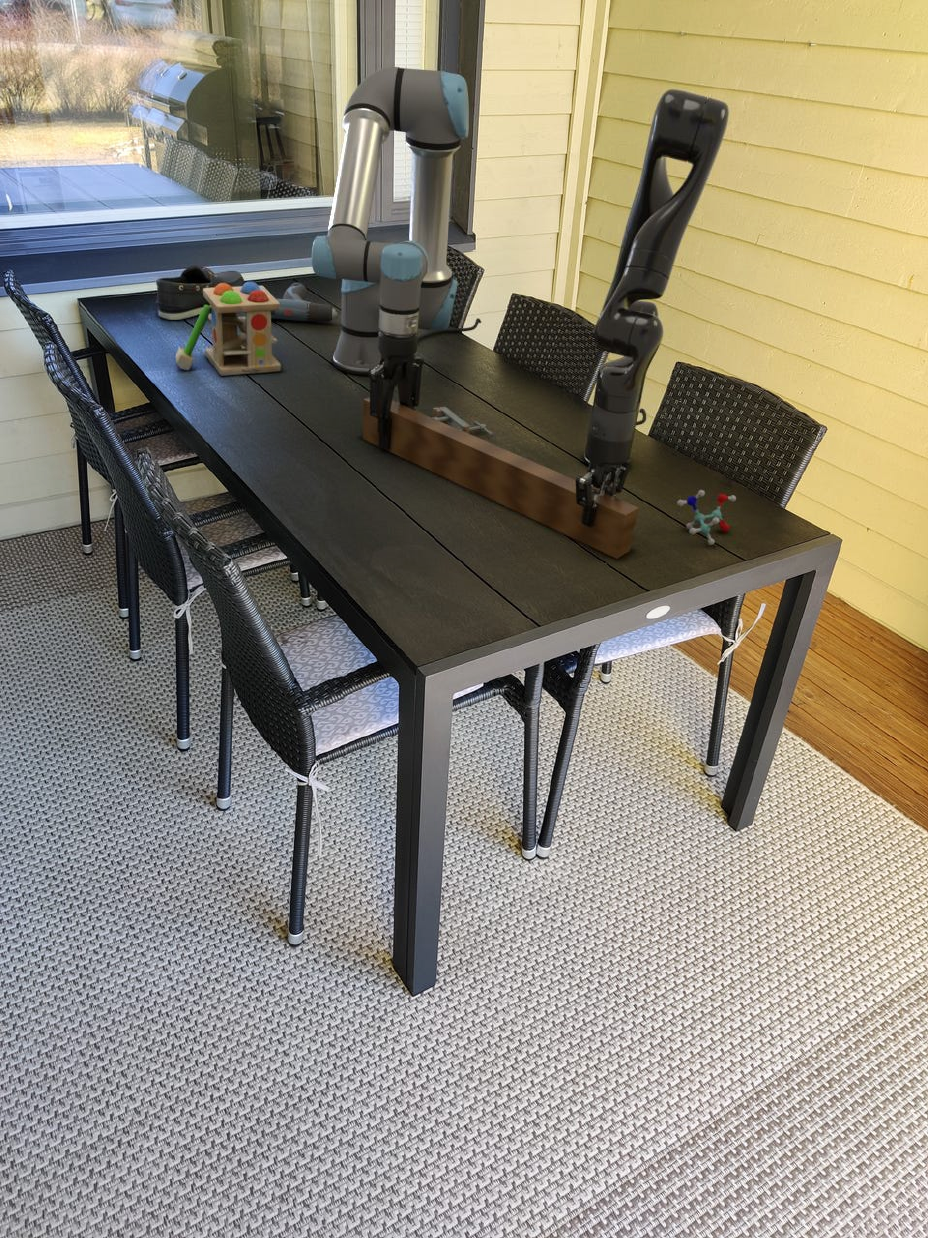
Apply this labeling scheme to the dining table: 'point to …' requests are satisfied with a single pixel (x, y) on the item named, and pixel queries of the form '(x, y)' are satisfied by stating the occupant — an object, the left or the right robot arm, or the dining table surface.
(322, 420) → the dining table surface
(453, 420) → the clamp
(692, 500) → the molecular model
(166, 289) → the boat shoe
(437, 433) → the bar
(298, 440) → the dining table surface
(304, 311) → the power drill
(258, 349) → the pounding bench toy
